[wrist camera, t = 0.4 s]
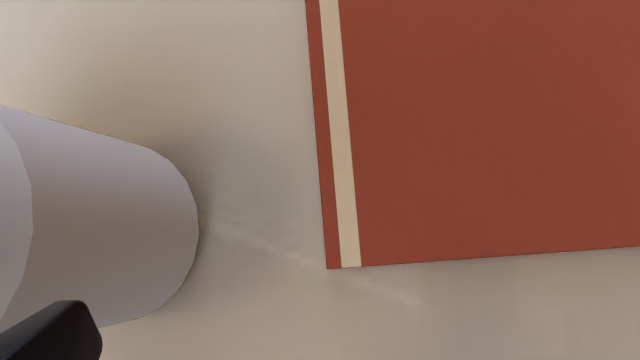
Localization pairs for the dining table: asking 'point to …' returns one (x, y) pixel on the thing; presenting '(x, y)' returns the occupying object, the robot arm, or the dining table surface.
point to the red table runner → (475, 127)
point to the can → (88, 222)
